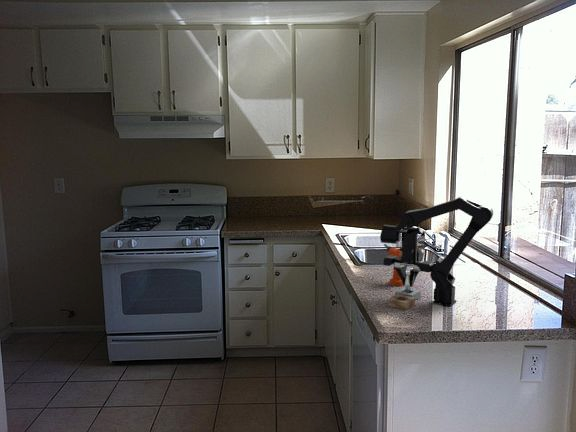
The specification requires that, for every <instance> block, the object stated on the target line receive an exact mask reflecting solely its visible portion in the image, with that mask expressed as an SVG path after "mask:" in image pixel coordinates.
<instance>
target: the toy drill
mask: <svg viewBox="0 0 576 432" xmlns="http://www.w3.org/2000/svg"><path fill="white" fill-rule="evenodd" d="M383 246H384V247H385V248H386V251H387V252H388V256H390V255H391V256H398V257H399V259H401V251H400V249H398V248H397V247H393V246H389V245H388V244H387V243H383ZM394 267H395V264H393V268H392V269H393V270H392V277H391V278H390V279H389V280H388V283H389V284H390V285H392V286H394V287H404V285H403V283H402V281H401V278H400V276H399V274H398V273H397V271H396V269H394Z"/></svg>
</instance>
